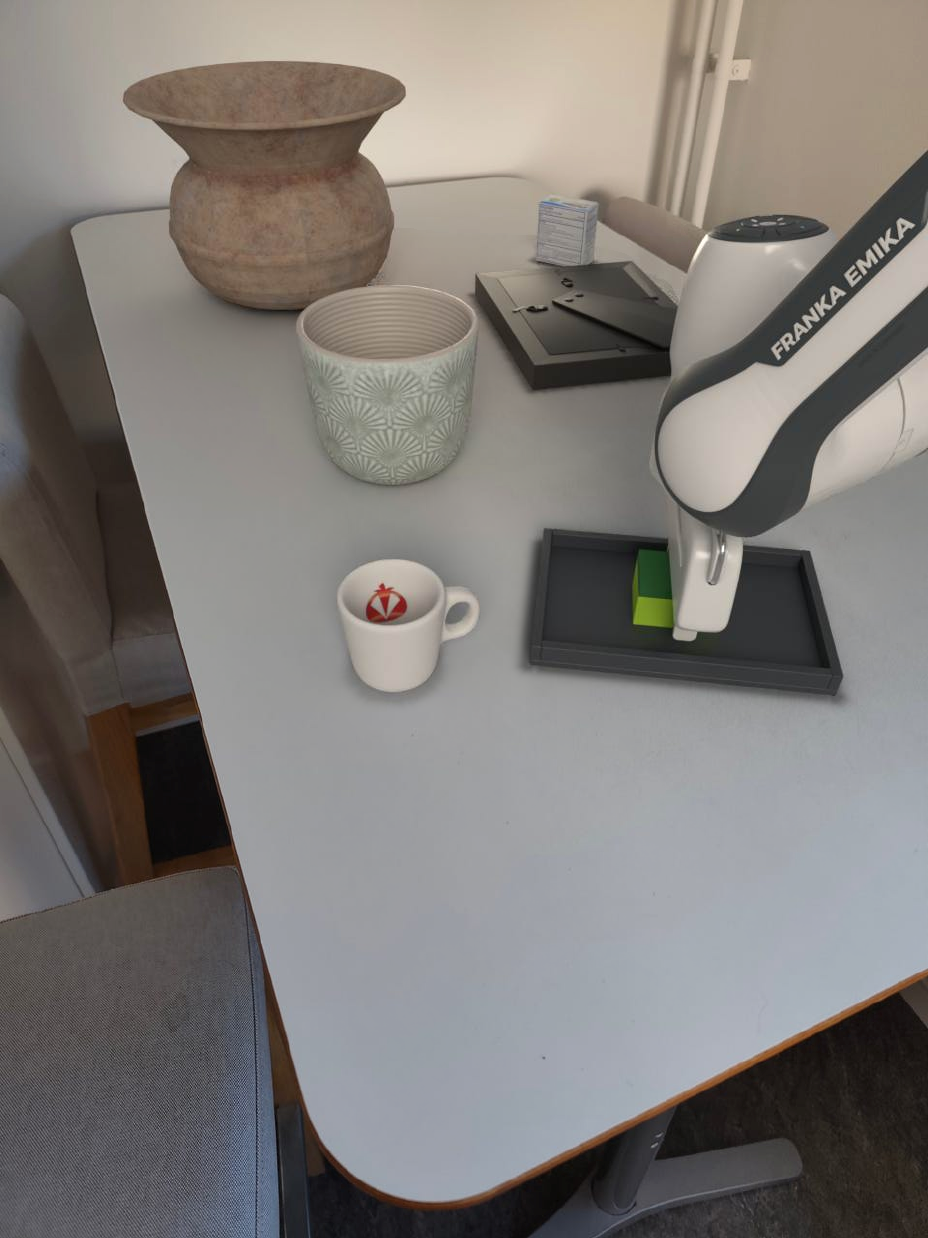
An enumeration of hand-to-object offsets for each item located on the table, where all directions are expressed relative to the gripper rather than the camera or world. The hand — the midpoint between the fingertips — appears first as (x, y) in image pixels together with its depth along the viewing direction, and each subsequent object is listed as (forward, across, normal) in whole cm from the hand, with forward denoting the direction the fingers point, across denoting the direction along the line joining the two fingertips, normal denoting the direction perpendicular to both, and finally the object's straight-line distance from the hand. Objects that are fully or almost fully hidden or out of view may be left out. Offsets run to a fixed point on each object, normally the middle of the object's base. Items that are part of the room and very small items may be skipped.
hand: (679, 595), depth 72 cm
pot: (+2, +62, +51) cm, 80 cm away
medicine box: (+2, +79, +13) cm, 80 cm away
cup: (+2, -9, +21) cm, 23 cm away
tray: (+2, 0, 0) cm, 2 cm away
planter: (+2, +20, +28) cm, 34 cm away
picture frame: (+2, +55, +9) cm, 56 cm away
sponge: (+1, 0, 0) cm, 1 cm away
